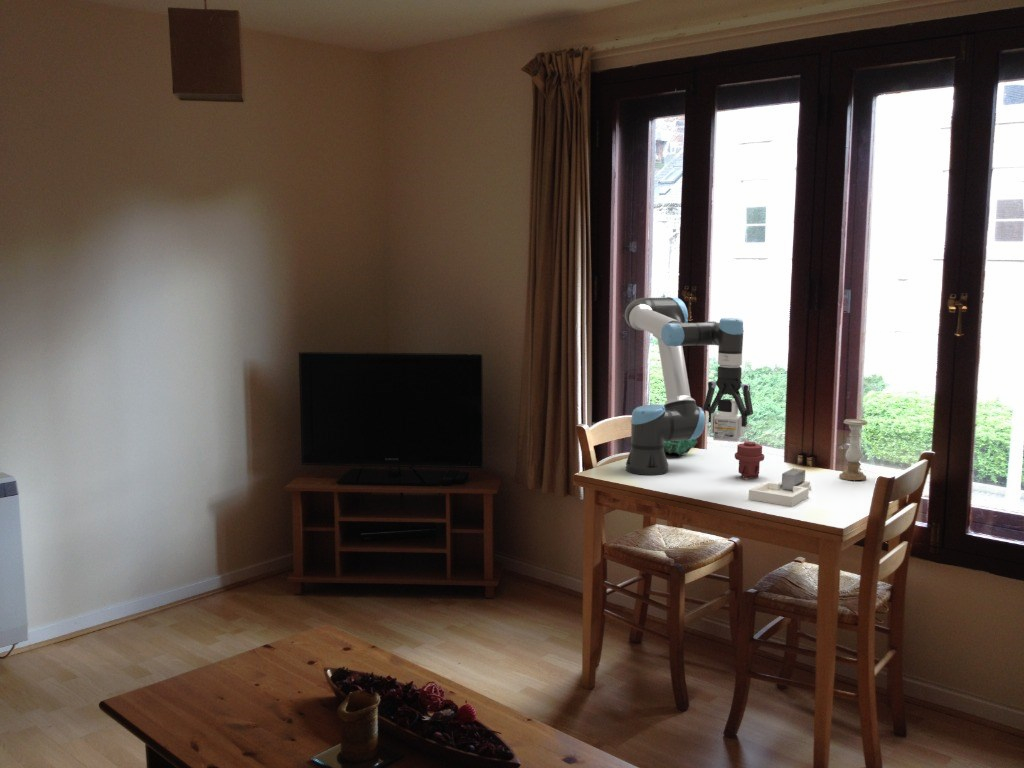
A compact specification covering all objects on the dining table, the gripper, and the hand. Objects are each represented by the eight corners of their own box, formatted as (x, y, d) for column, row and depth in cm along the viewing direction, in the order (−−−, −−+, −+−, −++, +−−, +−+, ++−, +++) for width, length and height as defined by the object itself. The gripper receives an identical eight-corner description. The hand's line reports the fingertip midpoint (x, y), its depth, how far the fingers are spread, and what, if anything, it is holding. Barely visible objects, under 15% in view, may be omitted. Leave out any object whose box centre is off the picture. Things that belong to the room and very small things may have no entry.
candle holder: (871, 480, 304) (874, 422, 302) (847, 481, 303) (850, 423, 300) (857, 475, 313) (860, 418, 310) (834, 475, 311) (837, 418, 309)
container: (713, 440, 288) (714, 400, 286) (716, 435, 295) (718, 397, 293) (737, 442, 285) (739, 402, 283) (740, 437, 292) (741, 398, 291)
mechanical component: (731, 473, 315) (760, 474, 314) (736, 480, 305) (765, 481, 304) (733, 439, 313) (762, 440, 312) (737, 445, 303) (767, 445, 302)
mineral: (654, 449, 357) (655, 424, 356) (694, 449, 356) (695, 425, 354) (657, 458, 339) (658, 433, 338) (699, 459, 337) (700, 434, 336)
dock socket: (748, 499, 280) (748, 489, 280) (778, 484, 299) (779, 475, 299) (791, 506, 271) (792, 496, 271) (820, 490, 291) (820, 481, 291)
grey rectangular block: (781, 488, 288) (782, 473, 287) (792, 482, 296) (793, 468, 295) (793, 490, 286) (794, 475, 285) (804, 484, 293) (805, 469, 293)
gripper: (693, 364, 291) (691, 431, 294) (757, 369, 277) (754, 440, 280) (704, 362, 296) (701, 428, 300) (766, 367, 283) (763, 436, 286)
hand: (727, 434), depth 290 cm, fingers closed on container, 9 cm apart
